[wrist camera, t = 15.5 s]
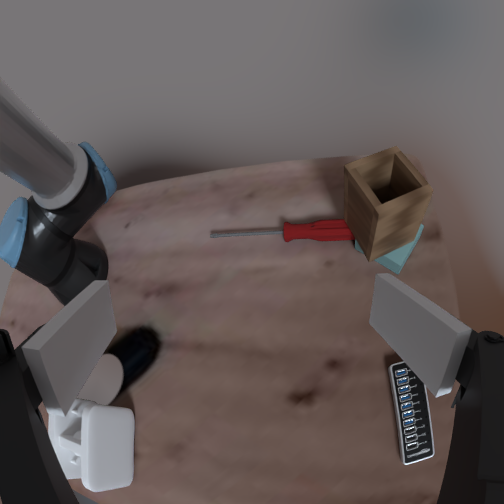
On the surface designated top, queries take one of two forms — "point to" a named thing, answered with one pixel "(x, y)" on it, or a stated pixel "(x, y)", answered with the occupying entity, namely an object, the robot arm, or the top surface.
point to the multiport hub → (411, 414)
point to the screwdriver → (307, 231)
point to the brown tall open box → (384, 201)
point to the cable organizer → (95, 444)
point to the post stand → (396, 254)
